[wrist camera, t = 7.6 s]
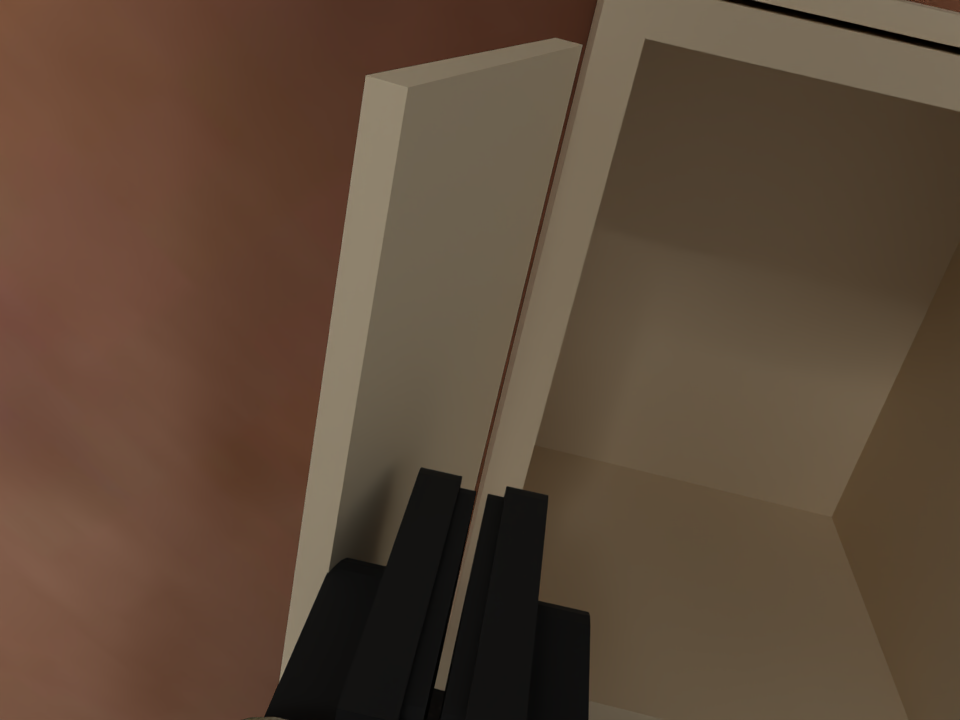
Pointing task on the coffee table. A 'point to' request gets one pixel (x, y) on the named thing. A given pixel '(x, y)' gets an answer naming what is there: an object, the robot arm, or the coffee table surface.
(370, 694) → the robot arm
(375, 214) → the flap
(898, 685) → the shipping box
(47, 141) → the coffee table surface
